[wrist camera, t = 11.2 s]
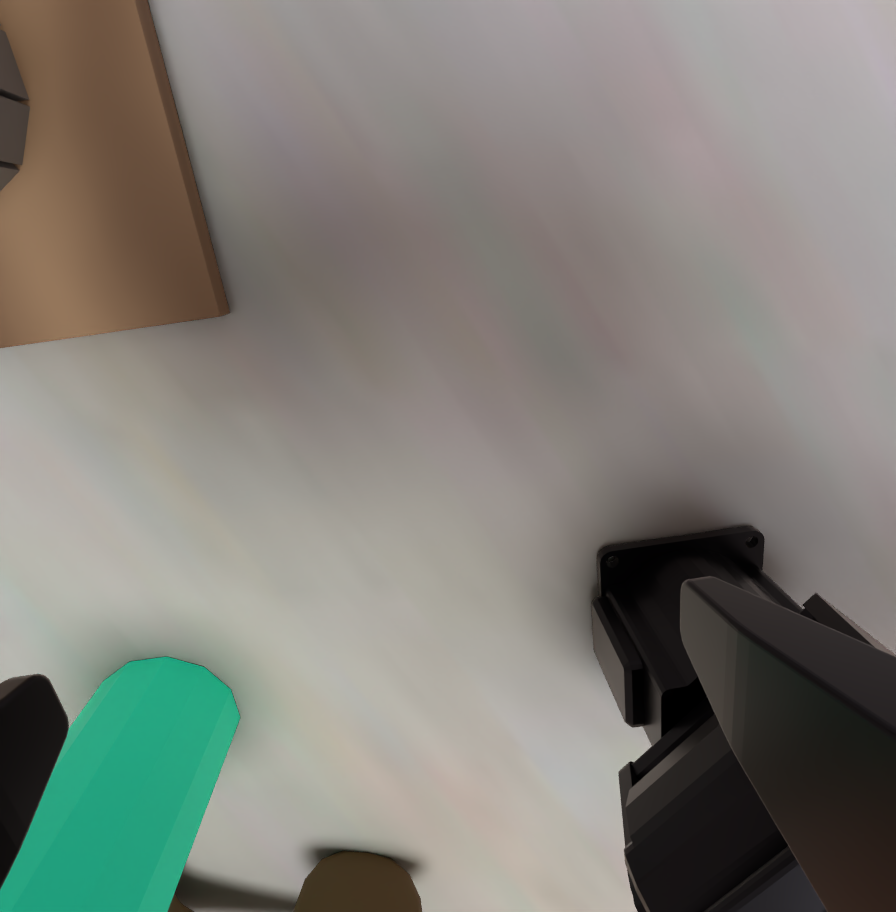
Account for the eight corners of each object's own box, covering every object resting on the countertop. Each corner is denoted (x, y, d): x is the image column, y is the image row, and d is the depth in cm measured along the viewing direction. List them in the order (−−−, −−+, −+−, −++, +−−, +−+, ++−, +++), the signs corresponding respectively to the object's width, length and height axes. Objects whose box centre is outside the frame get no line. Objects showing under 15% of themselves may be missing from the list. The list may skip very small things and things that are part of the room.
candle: (90, 651, 23) (-220, 1034, 12) (240, 661, 24) (81, 1037, 12) (101, 761, 25) (-155, 1177, 14) (239, 768, 26) (101, 1174, 14)
